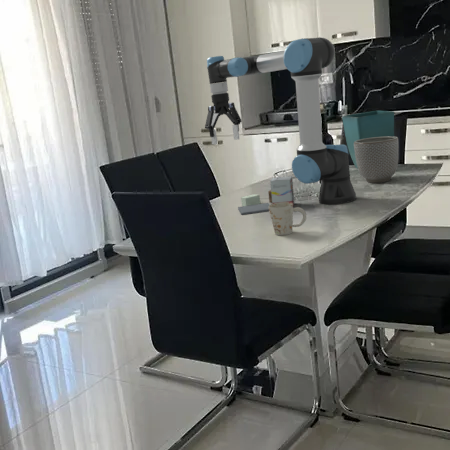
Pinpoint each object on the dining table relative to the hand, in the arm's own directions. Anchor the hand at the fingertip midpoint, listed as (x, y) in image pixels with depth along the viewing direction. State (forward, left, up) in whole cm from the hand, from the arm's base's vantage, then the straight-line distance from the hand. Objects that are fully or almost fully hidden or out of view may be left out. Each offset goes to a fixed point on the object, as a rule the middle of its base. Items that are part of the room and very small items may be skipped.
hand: (226, 141), depth 277 cm
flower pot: (-20, -81, -27) cm, 88 cm away
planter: (-42, -53, -27) cm, 73 cm away
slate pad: (-23, +10, -27) cm, 37 cm away
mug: (-62, +34, -27) cm, 75 cm away
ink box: (-31, +1, -27) cm, 41 cm away
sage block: (-14, +3, -27) cm, 31 cm away
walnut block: (-21, -6, -27) cm, 35 cm away
